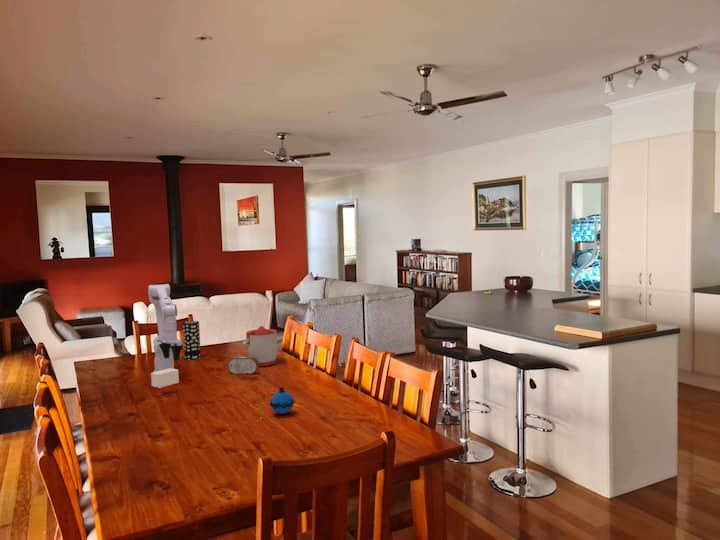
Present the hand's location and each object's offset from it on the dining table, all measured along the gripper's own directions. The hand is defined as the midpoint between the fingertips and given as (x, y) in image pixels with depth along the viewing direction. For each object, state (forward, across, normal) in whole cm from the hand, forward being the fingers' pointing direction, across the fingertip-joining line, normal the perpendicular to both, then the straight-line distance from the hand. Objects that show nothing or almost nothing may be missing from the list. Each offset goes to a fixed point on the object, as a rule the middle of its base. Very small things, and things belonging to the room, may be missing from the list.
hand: (171, 359), depth 248 cm
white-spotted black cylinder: (+10, -26, +30) cm, 41 cm away
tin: (+10, +22, +24) cm, 34 cm away
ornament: (+10, +78, -6) cm, 79 cm away
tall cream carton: (+9, +5, -7) cm, 13 cm away
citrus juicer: (+10, +16, +41) cm, 45 cm away
